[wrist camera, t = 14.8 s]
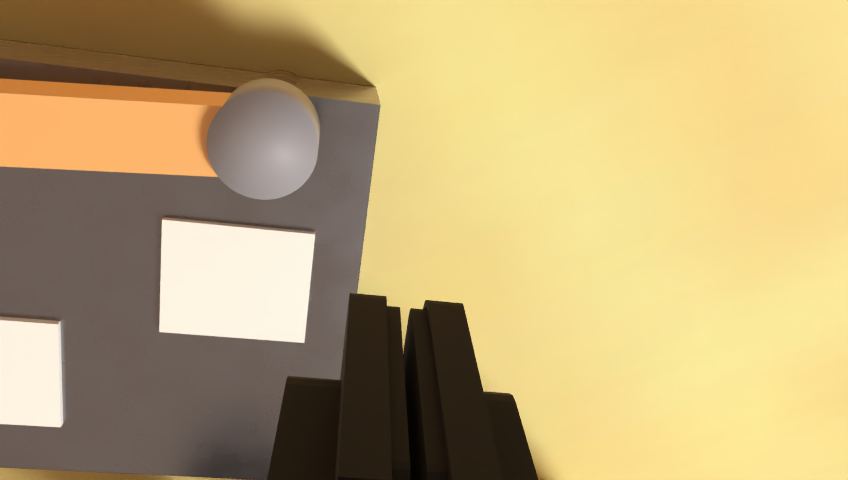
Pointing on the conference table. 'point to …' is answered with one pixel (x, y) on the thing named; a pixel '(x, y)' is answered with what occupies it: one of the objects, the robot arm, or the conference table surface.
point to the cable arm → (164, 132)
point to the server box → (140, 284)
